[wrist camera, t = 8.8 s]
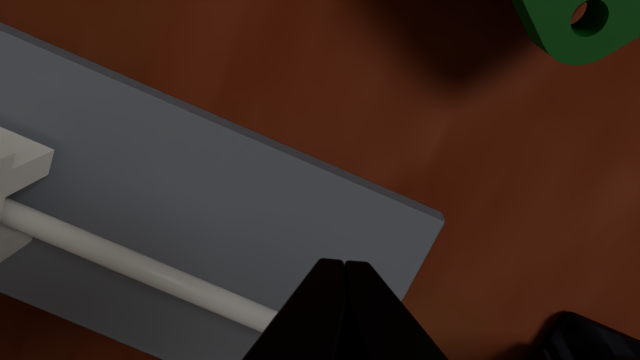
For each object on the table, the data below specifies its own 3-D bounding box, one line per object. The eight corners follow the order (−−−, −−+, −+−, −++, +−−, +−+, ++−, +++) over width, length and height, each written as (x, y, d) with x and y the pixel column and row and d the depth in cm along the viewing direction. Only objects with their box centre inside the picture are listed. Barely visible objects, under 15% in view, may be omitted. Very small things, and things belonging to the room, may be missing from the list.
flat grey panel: (442, 212, 23) (458, 266, 19) (333, 414, 27) (323, 501, 23) (-129, -34, 23) (-264, -43, 18) (-157, 211, 27) (-273, 256, 22)
